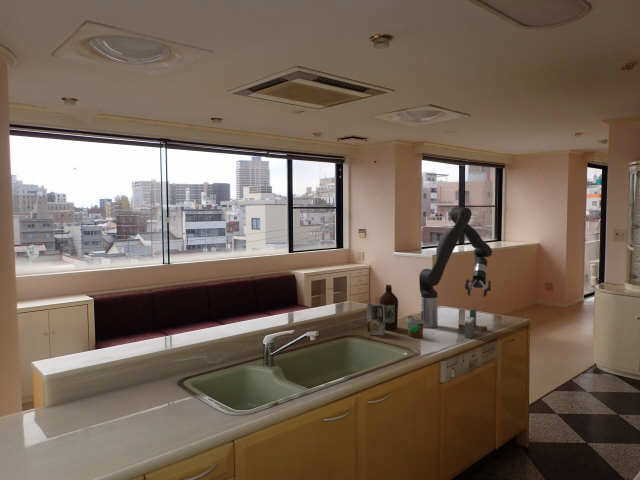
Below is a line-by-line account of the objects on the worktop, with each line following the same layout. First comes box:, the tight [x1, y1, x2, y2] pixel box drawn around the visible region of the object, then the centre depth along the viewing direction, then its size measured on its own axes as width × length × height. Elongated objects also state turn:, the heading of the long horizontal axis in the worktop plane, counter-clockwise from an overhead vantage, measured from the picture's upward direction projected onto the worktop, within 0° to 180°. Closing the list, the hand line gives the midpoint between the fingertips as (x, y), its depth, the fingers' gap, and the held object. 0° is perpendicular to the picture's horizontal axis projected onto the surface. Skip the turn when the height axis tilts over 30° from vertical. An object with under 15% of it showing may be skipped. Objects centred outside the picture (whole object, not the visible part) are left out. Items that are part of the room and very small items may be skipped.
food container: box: [405, 315, 424, 339], centre depth 258 cm, size 12×6×10 cm, turn 21°
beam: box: [458, 308, 488, 332], centre depth 270 cm, size 15×3×11 cm, turn 63°
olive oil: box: [378, 284, 399, 331], centre depth 275 cm, size 11×11×25 cm
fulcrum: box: [464, 316, 475, 339], centre depth 257 cm, size 3×10×9 cm, turn 153°
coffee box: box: [366, 303, 386, 336], centre depth 265 cm, size 9×6×16 cm
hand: (476, 295), depth 279 cm, fingers open, 8 cm apart
